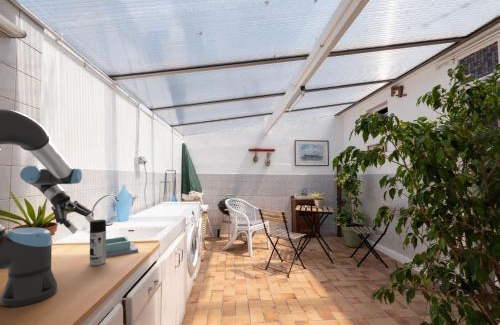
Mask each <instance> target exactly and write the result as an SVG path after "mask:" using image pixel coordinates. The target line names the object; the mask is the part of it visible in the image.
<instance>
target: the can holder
mask: <svg viewBox="0 0 500 325" xmlns="http://www.w3.org/2000/svg"><path fill="white" fill-rule="evenodd" d="M134 253H139V248H138V247H137V246H136V245H135V243H134V242H133V241H132V240H130V239H129V238H128V236H127V235H126V236H125V235H124V236H118V237H111V238H106V259H107V258H111V257H117V256H121V255H129V254H134Z"/></svg>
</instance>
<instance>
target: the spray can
mask: <svg viewBox="0 0 500 325" xmlns="http://www.w3.org/2000/svg"><path fill="white" fill-rule="evenodd" d="M106 239H107V220H106V219H95V220H94V221H90V223H89V265H90V266H92V267H93V266H94V267H95V266H101V265H103V264H105V263H107V258H106Z"/></svg>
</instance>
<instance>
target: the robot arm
mask: <svg viewBox="0 0 500 325" xmlns="http://www.w3.org/2000/svg"><path fill="white" fill-rule="evenodd" d="M2 145H16V146H18V147H20V148H21V149H22V150H24V151H26V152H27V151H29V153H30V154H32V156H33V157H35V159H36V160H37V161H39V163H41V164H42V166H43V167H38V166H36V165H27V166H25V167H24V168H23V167H22V169H21V171H20V173H19V177H20V179H21V180H22V181H24V182H25V183H26V184H29V185H31V186H33V187H34V188H36V189H38V190H39V192H41V194H43V196H44V197H45V198H46V199H47V200H48V201H49V202H50V204H51V205H52V206H51V207H50V208H51V210H52V211H53V215H54V219H55V222H56V224H59V225H63V226H64V227H65V228H67V229H68V230H69V231H70V232H71V234H72V235H74V234H75V233H76V232H77V231H78V230H79V229H78V228H77V227H76V226H75V224H74V223H73V222H72V221H71V219H69V218H68V212H69V213H70V212H71V213H77V214H79V215H81V216H83V217H85V219H86V220H87V222H88V223H89V224H90V221H94V220H96V219H95V218H94V217H93V216H92V215H91V214H92V213H93V211H92V210H91V209H89V208H87V207H86V206H84V205H83V204H81V203H79V201H78V200H74V201H71V196H70V195H69V194H68V193H67V191H65V189H64V188H63V187H62V186H60V185H72V184H80V183H81V181H82V178H83V173H82V169H81V168H79V167H72V166H71V165H70V164H69V162H68V161H67V160H66V159H65V157H63V155H62V154H61V153H60V151H59V150H58V149H57V147H56V146H55V144H53V142H52V141H51V136H50V133H49V132H48V131H47V129H46V128H45V127H43V126H42V125H41V124H40V123H39V122H38V121H37V120H34V119H33V118H32V117H29V116H28V115H26V114H24V113H21V112H19V111H17V110H16V111H15V110H13V109H7V108H5V109H3V108H0V151H2ZM52 244H53V241H52V233H51V231H50V230H49V229H47V228H43V227H20V228H19V227H18V228H14V229H11V230H9V231H8V233H6V227H5V225H2V224H1V223H0V270H5V269H6V270H7V274H8V275H7V281H6V282H5V285H4V288H3V291H2V293H1V296H0V305H1V304H2V305H4V306H10V307H9V308H17V307H16V306H18V307H24V306H27V305H28V304H29V305H32V304H31V303H33V304H35V302H36V303H38V301H39V302H42V301H44V300H46V299H48V298H50V297H52V296H53V295H55V294H56V293H57V291H58V283H57V280H56V278H55V275H54V273H53V271H52V251H53V250H52V248H53V247H52ZM41 300H42V301H41ZM2 305H1V306H2ZM23 305H24V306H23ZM29 305H28V306H29ZM4 306H3V307H4Z"/></svg>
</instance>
